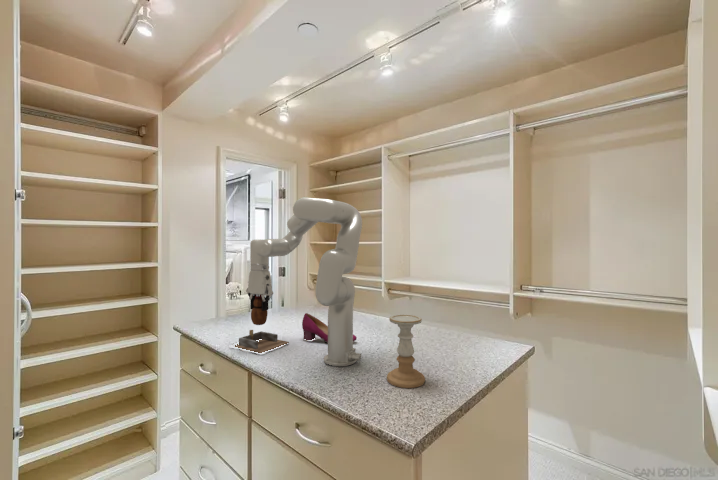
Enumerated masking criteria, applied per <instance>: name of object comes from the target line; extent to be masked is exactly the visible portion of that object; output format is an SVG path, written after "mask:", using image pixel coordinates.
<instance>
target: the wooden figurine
mask: <svg viewBox="0 0 718 480" xmlns="http://www.w3.org/2000/svg"><path fill="white" fill-rule="evenodd" d="M262 301H263V299H262V296H261V295H258V294H257V296H255V300H254V303H253V304H254V308H253V309H251V311H250V318H251V322H252V324H253V325H255V326H262V325H265V324H266V322H267V319H268V310H265V311H262Z"/></svg>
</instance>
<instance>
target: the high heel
mask: <svg viewBox="0 0 718 480" xmlns="http://www.w3.org/2000/svg"><path fill="white" fill-rule="evenodd" d="M301 323H302V324H301V327H302V331H303V339H306V340H312V339H314V338H315V339H316V336H317V337H318V338H320V339H322V340H323V341H324V342H325V343H327V344H328V324H325V323H324V322H323V321H321V320H320V319H319V318H317V317H315V316H314V315H312V314H310V313H308V312H305V314H303V318H302V322H301ZM355 341H357V335H355V334H353V342H355Z"/></svg>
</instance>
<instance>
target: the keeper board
mask: <svg viewBox="0 0 718 480" xmlns="http://www.w3.org/2000/svg"><path fill="white" fill-rule="evenodd" d="M248 334H249V335H244V336H241V337H239V338H238V342H239V345H238V344H237V346H236V345H235V347H238V348H242V349H246V350H250V351H254V352H258V353H262V352H265V351H268V350H271V349H274V348H276V347H279V346H281V345H284V344H287V343H289V344H290V342H289V341H286V340H281V339H278V337H279V336H278V334H277V333H271V332H266V331H258V332H254V329H249V333H248ZM259 339H262V340H259ZM256 340H259V342H258V341H256Z"/></svg>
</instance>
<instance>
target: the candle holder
mask: <svg viewBox="0 0 718 480" xmlns="http://www.w3.org/2000/svg"><path fill="white" fill-rule="evenodd" d="M388 319H389V320H388V321H389V322H390V323H392V324H395V325H397V327H398V328H399V333H398V334H397V337H398V339H399V342H398V345H397V348H396V349H397V350H396V352H397V354H398V356H396V362H397V363H398V367H396V368H394V369H392V370H391V371H389V372H388V373H387V375H386V380H387V382H388V383H389V384H390V385H392V386H393V387H397V388H402V389H414V388H415V389H416V388H419V387H422V386H423V385H425V382H426V377H425V375H424V374H423V373H422V372H420V370H419V371H418V370H417V369H416V368H414V365H413V364H414V362H415V360H416V359H415V357H414V356H413V355H414V353H415V348H414V346H413V341H412V340H413V338H414V335H413V334H412V328H413V327H414V325H419V324H421V323H422V321H423V319H422V317H421V316H418V315H413V314H395V315H391V316H390V317H389V318H388Z"/></svg>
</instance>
